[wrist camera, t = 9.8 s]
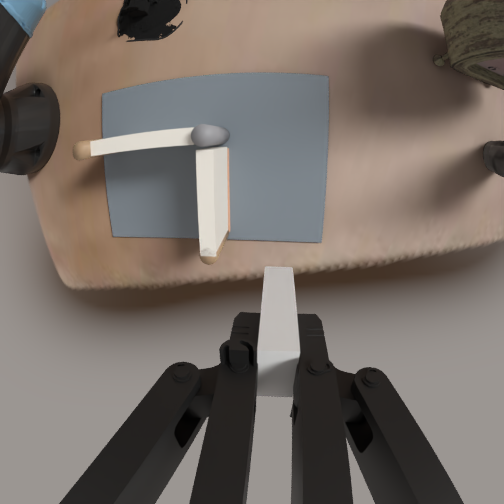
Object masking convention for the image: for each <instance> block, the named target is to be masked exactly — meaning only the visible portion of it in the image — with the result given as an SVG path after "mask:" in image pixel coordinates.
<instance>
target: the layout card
mask: <svg viewBox="0 0 504 504" xmlns="http://www.w3.org/2000/svg"><path fill="white" fill-rule="evenodd" d="M200 124H206V125H212V126H218V127H223V128H226V129H227V130H228V131H229V134H230V137H229V140H228V141H227V142H226V143H224V144H219V145H212V146H204V147H199V146H197V145H182V146H169V147H158V148H148V149H139V150H130V151H123V152H119V153H114V154H109V155H104V167H105V179H106V189H107V197H108V205H109V213H110V220H111V226H112V233H113V237H162V238H199V224H198V203H197V176H196V150H199V149H205V148H211V147H227V181H228V230H229V236H228V238H227V239H237V240H267V241H295V242H320V243H322V232H323V221H324V208H325V195H326V178H327V158H328V126H329V77H328V76H322V75H311V74H296V73H230V74H215V75H203V76H194V77H185V78H178V79H171V80H164V81H158V82H153V83H147V84H142V85H137V86H133V87H128V88H124V89H119V90H115V91H111V92H108V93H104V94H102V130H103V139H106V138H111V137H117V136H123V135H129V134H136V133H143V132H151V131H159V130H169V129H179V128H191V127H196V126H197V125H200Z"/></svg>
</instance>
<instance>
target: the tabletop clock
mask: <svg viewBox="0 0 504 504" xmlns="http://www.w3.org/2000/svg"><path fill="white" fill-rule="evenodd" d="M440 17H441V21H442V25H443V29H444V34H445V39H446V43H447V49H448V52H447V53H446V54H445V55H443V56H440V55H435V56H434V58H433V61H434V63H435V64H436V65H437V66H443V65H444V63H445V60H446V59H448V58H449V60H450V67H451V68H453V69H455V70H456V71H459V72H461V73H463V74H466V75H468V76H471V77H473V78H475V79H478V80H480V81H482V82H485V83H488V84H490V85H492V86H495V87H497V88H500V89H502V90H504V0H447V1H446V2H445V5H444V7H443V9H442V12H441V15H440Z"/></svg>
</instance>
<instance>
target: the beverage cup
mask: <svg viewBox="0 0 504 504" xmlns="http://www.w3.org/2000/svg"><path fill="white" fill-rule="evenodd" d="M483 158H484V162H485V165H486V167H487V168H488V169H489V170H490V171H493V172H495V173H496V174H498V175H500V176H502V177H504V141H489V142H488V143H487V144H486V145H485V147H484V152H483Z"/></svg>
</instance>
